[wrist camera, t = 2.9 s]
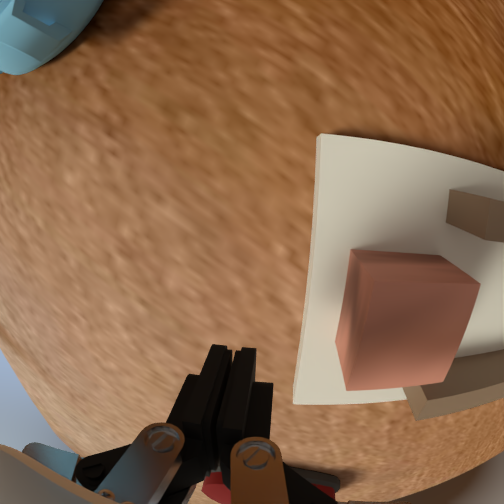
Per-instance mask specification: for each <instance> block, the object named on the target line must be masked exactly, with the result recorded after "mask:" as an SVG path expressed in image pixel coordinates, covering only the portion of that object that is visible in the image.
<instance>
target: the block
mask: <svg viewBox="0 0 504 504" xmlns="http://www.w3.org/2000/svg"><path fill="white" fill-rule="evenodd" d="M480 285H481V284H480V283H479V282H478V281H476V280H475V279H474V278H472V277H471V276H470V275H468V274H467V273H465V272H464V271H463V270H461V269H460V268H458V267H457V266H455V265H454V264H452V263H451V262H449V261H448V260H447V259H445V258H444V257H442V256H441V255H430V254H416V253H401V252H386V251H371V250H355V249H350V256H349V264H348V271H347V277H346V284H345V290H344V296H343V302H342V308H341V313H340V319H339V324H338V329H337V334H336V339H335V344H336V348H337V352H338V357H339V361H340V365H341V369H342V374H343V378H344V383H345V388H346V391H359V390H377V389H390V388H401V387H410V386H418V385H426V384H433V383H439V382H443V381H444V379H445V377H446V375H447V373H448V371H449V369H450V366H451V364H452V362H453V360H454V358H455V355H456V353H457V351H458V348H459V346H460V344H461V341H462V339H463V336H464V333H465V331H466V328H467V325H468V323H469V320H470V317H471V314H472V311H473V308H474V305H475V302H476V299H477V295H478V292H479V289H480Z"/></svg>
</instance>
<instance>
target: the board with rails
mask: <svg viewBox="0 0 504 504" xmlns="http://www.w3.org/2000/svg"><path fill="white" fill-rule="evenodd" d="M350 249H355V250H371V251H386V252H401V253H416V254H430V255H441V256H442V257H444V258H445V259H447V260H448V261H449V262H451V263H452V264H454V265H455V266H457V267H458V268H460V269H461V270H463V271H464V272H465V273H467V274H468V275H470V276H471V277H472V278H474V279H475V280H476V281H478V282H479V283H480V284H481V285H480V289H479V292H478V295H477V299H476V302H475V305H474V308H473V311H472V314H471V317H470V320H469V323H468V325H467V328H466V331H465V333H464V336H463V339H462V341H461V344H460V346H459V348H458V351H457V353H456V355H455V358H454V360H453V362H452V364H451V366H450V369H449V371H448V373H447V375H446V377H445V379H444V381H443V382H439V383H433V384H426V385H418V386H410V387H401V388H390V389H377V390H359V391H346V388H345V383H344V378H343V374H342V369H341V365H340V361H339V357H338V352H337V348H336V344H335V339H336V334H337V329H338V324H339V319H340V313H341V308H342V302H343V296H344V290H345V284H346V277H347V271H348V264H349V256H350ZM501 398H504V171H501V170H498V169H495V168H492V167H489V166H486V165H483V164H480V163H476V162H473V161H469V160H466V159H462V158H459V157H455V156H451V155H447V154H443V153H439V152H435V151H431V150H426V149H422V148H417V147H412V146H407V145H402V144H396V143H390V142H385V141H378V140H372V139H365V138H357V137H349V136H341V135H331V134H320V135H319V136H318V137H317V140H316V169H315V189H314V206H313V221H312V234H311V246H310V258H309V268H308V278H307V288H306V297H305V305H304V314H303V322H302V329H301V337H300V344H299V351H298V358H297V364H296V371H295V377H294V383H293V404H310V405H331V404H360V403H375V402H386V401H396V400H405V399H407V400H408V403H409V405H410V408H411V410H412V413H413V415H414V418H415V420H416V421H417V420H423V419H428V418H433V417H438V416H442V415H447V414H451V413H455V412H459V411H463V410H466V409H470V408H473V407H477V406H480V405H483V404H486V403H489V402H492V401H495V400H498V399H501Z"/></svg>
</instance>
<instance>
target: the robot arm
mask: <svg viewBox="0 0 504 504" xmlns="http://www.w3.org/2000/svg"><path fill="white" fill-rule="evenodd" d="M255 369H256V348H245V347H242V349H241V351H238V350H236V352H235V356H234V359H233V363H232V350H227V346H224V345H215V344H212V346H211V348H210V351H209V353H208V356H207V358H206V361H205V363H204V366H203V368H202V371H201V373H200V375H194V374H189V375H188V376H187V377H186V380H185V382H184V384H183V386H182V388H181V391H180V393H179V395H178V397H177V399H176V402H175V404H174V406H173V408H172V410H171V413H170V415H169V417H168V419H167V421H166V423H154V424H151V425H149V426H147V427H145V428H144V429H143V430H142V431H141V432H140V434H139V435H138V436H137V438H136V439H135V440H134V441H133V443H132V444H129V445H126V446H123V447H119V448H116V449H113V450H109V451H106V452H102V453H98V454H94V455H91V456H87V457H85V458H82V457H80V456H79V454H75V453H71V452H67V451H63V450H60V449H56V448H53V447H50V446H47V445H44V444H41V443H35V442H34V443H29V444H28V445H26V446H25V448H24V449H23V451H22V452H20V451H18V450H16V449H13V448H11V447H8V446H5V445H1V444H0V504H187V503H188V501H189V499H190V498H191V496H192V494H193V492H194V490H195V488H196V484H197V483H199V482H201V481H203V480H204V479H205V476H207V477H210V474H211V470H214V471H216V470H217V468H218V464H219V462H220V470H221V473H222V481H223V484H224V485H225V486H226V487H227V488H228V489H229V490H230V491H231V504H411V503H409V502H364V501H348V502H337V501H335V500H334V499H333V498H332V497H330V496H329V495H327V494H326V493H324V492H323V491H321V490H320V489H318V488H317V487H316V486H314V485H313V484H311V483H310V482H309V481H307V480H306V479H305V478H303V477H302V476H300V475H299V474H298V473H297V472H295V471H294V470H293V469H291V468H290V467H289V466H288V465H286V464H285V463H284V462H283V461H282V456H281V452H280V449H279V447H278V446H277V445H276V444H275V443H274V442H272V441H271V440H269V438H270V425H271V412H272V397H273V383H266V382H255Z"/></svg>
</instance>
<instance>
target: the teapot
mask: <svg viewBox="0 0 504 504" xmlns="http://www.w3.org/2000/svg"><path fill="white" fill-rule="evenodd" d="M102 2H103V0H0V74H1V73H2V72H5V73H8V74H13V75H21V74H25V73H28V72H31V71H33V70H35V69H36V68H38V67H40V66H42V65H43V64H45V63H47V62H48V61H49V60H51V59H52V58H54V57H55V56H57V55H58V54H59V53H60V52H62V51H63V50H64V49H65V48H66V47H67V46H68V45H70V43H71V42H72V41H73V40H75V38H76V37H77V36H78V35H79V34H80V33H81V32H82V31H83V29H84V28H85V27H86V26H87V25H88V23H89V22H90V21H91V19H92V18H93V17H94V15H95V14H96V12H97V11H98V9H99V7H100V6H101V4H102Z"/></svg>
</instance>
